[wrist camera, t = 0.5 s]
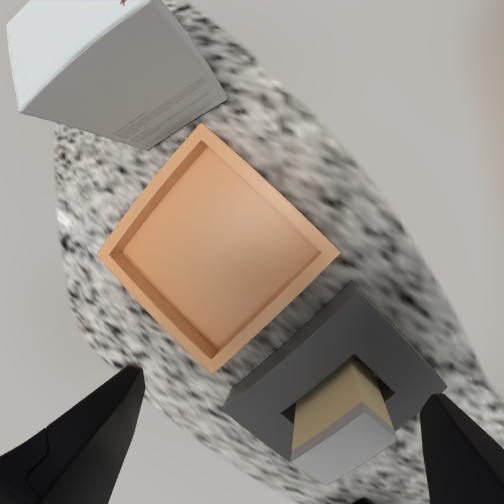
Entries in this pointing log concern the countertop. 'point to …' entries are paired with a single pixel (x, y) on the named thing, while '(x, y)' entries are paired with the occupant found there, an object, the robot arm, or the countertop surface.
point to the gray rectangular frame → (332, 369)
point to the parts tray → (214, 250)
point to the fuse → (340, 423)
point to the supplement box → (109, 68)
